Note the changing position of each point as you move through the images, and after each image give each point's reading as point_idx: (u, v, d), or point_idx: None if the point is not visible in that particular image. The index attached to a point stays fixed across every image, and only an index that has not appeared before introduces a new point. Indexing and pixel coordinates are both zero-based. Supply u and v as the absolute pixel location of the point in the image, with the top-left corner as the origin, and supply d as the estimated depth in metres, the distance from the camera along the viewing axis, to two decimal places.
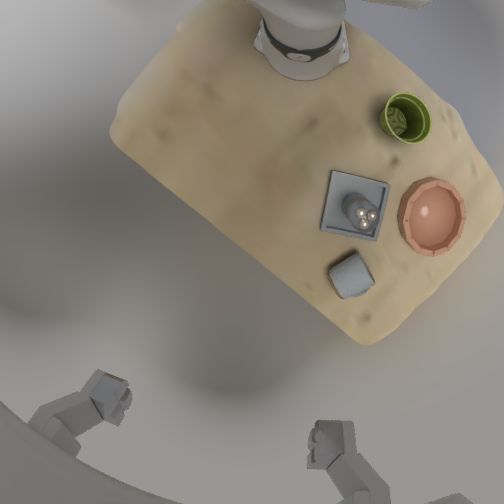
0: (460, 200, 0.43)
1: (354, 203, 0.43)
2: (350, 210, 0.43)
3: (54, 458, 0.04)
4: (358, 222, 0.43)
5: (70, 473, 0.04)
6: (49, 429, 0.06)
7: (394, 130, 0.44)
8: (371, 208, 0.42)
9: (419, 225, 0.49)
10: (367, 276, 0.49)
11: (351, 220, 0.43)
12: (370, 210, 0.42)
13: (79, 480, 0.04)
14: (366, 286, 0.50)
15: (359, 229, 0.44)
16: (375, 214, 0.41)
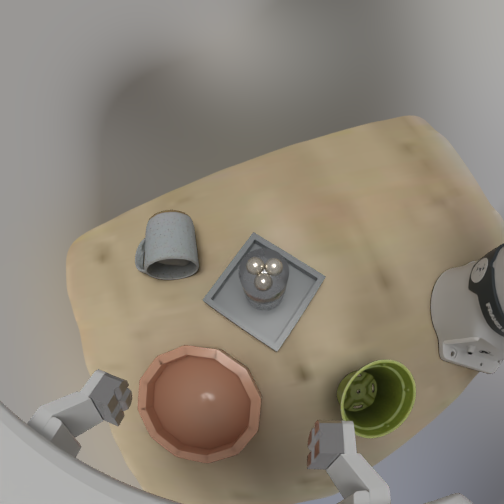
0: (208, 457, 0.27)
1: None
2: None
3: (54, 458, 0.04)
4: (260, 258, 0.29)
5: (70, 473, 0.04)
6: (49, 429, 0.06)
7: None
8: (273, 285, 0.28)
9: (194, 378, 0.33)
10: (164, 254, 0.33)
11: (267, 250, 0.30)
12: (272, 283, 0.28)
13: (79, 480, 0.04)
14: (149, 251, 0.34)
15: (249, 256, 0.30)
16: (264, 285, 0.28)
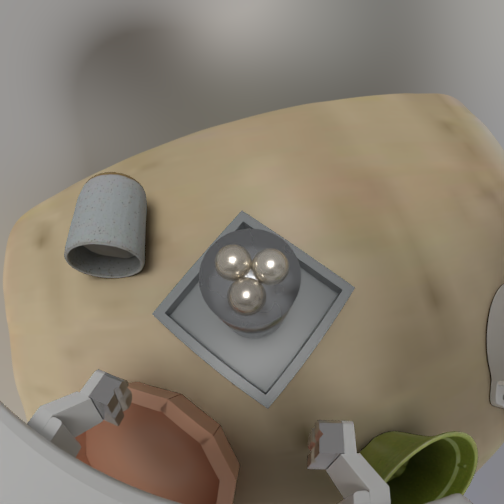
0: None
1: None
2: None
3: (54, 458, 0.04)
4: (245, 247, 0.15)
5: (70, 473, 0.04)
6: (49, 429, 0.06)
7: None
8: (268, 305, 0.14)
9: (138, 430, 0.18)
10: (84, 237, 0.18)
11: (260, 232, 0.15)
12: (265, 299, 0.13)
13: (79, 480, 0.04)
14: (70, 232, 0.19)
15: (222, 243, 0.15)
16: (247, 305, 0.13)
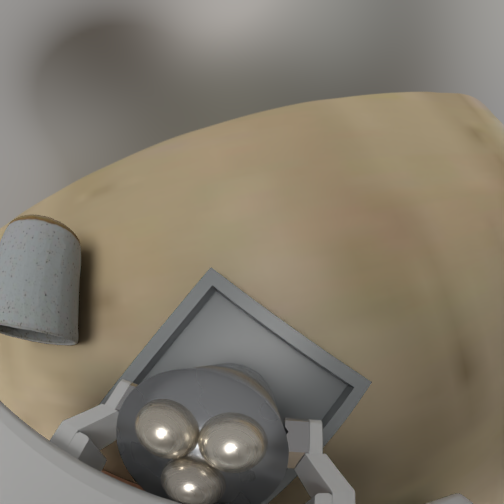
0: None
1: None
2: (263, 395, 0.08)
3: (54, 458, 0.04)
4: (186, 408, 0.07)
5: (70, 473, 0.04)
6: (75, 446, 0.06)
7: None
8: (229, 495, 0.06)
9: None
10: None
11: (214, 378, 0.07)
12: (223, 493, 0.05)
13: (79, 480, 0.04)
14: None
15: (147, 392, 0.07)
16: None
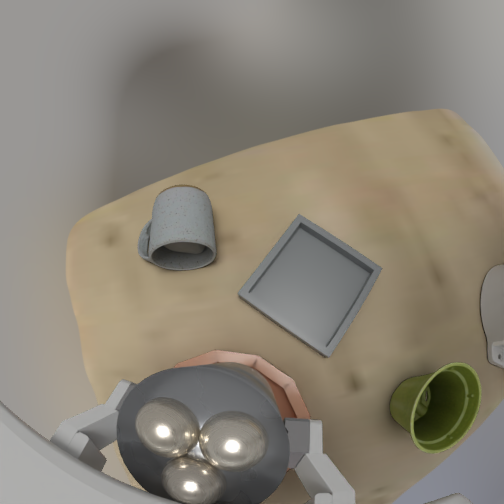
0: None
1: None
2: (264, 394, 0.08)
3: (54, 458, 0.04)
4: (186, 406, 0.07)
5: (69, 473, 0.04)
6: (75, 446, 0.06)
7: None
8: (229, 494, 0.06)
9: None
10: (174, 236, 0.26)
11: (215, 376, 0.07)
12: (224, 492, 0.05)
13: (79, 480, 0.04)
14: (156, 232, 0.27)
15: (148, 391, 0.07)
16: None
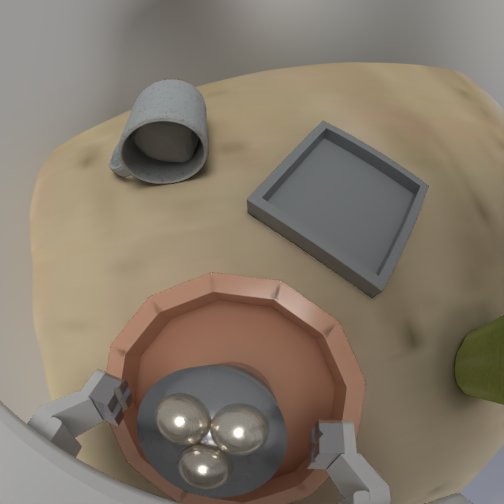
0: None
1: None
2: (265, 389, 0.09)
3: (54, 458, 0.04)
4: (200, 400, 0.08)
5: (70, 473, 0.04)
6: (49, 429, 0.06)
7: None
8: (236, 477, 0.07)
9: (222, 348, 0.17)
10: (154, 115, 0.17)
11: (224, 374, 0.08)
12: (231, 474, 0.07)
13: (79, 480, 0.04)
14: (131, 119, 0.18)
15: (166, 387, 0.08)
16: (204, 486, 0.06)
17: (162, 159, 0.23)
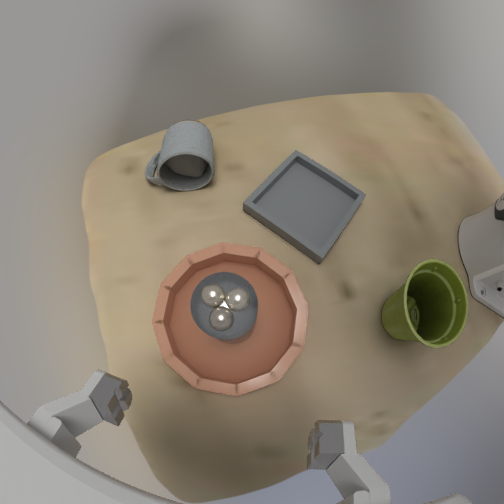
0: (238, 388, 0.24)
1: None
2: None
3: (54, 458, 0.04)
4: (221, 285, 0.22)
5: (70, 473, 0.04)
6: (49, 429, 0.06)
7: None
8: (235, 325, 0.21)
9: None
10: (182, 150, 0.30)
11: (232, 275, 0.22)
12: (233, 321, 0.20)
13: (79, 480, 0.04)
14: (166, 149, 0.31)
15: (206, 282, 0.22)
16: (221, 325, 0.20)
17: (183, 174, 0.36)
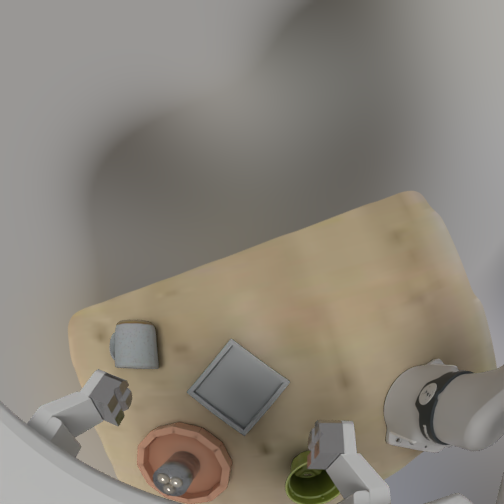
0: (190, 500, 0.30)
1: (188, 479, 0.28)
2: (183, 473, 0.28)
3: (54, 458, 0.04)
4: (167, 475, 0.27)
5: (70, 473, 0.04)
6: (49, 429, 0.06)
7: None
8: (176, 491, 0.26)
9: (180, 446, 0.36)
10: (128, 364, 0.36)
11: (172, 470, 0.27)
12: (175, 491, 0.26)
13: (79, 480, 0.04)
14: (117, 356, 0.37)
15: (159, 471, 0.27)
16: (168, 493, 0.25)
17: None
